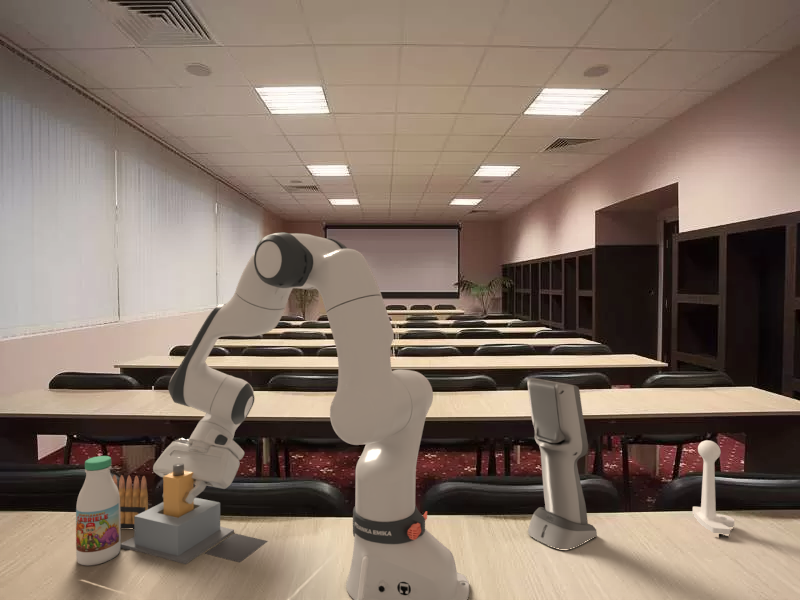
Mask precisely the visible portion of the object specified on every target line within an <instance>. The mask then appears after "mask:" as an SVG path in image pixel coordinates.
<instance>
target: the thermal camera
mask: <svg viewBox="0 0 800 600" xmlns="http://www.w3.org/2000/svg"><path fill="white" fill-rule="evenodd" d="M527 391H528V398H529V410H530V416H531V421H532V425H533V428H534V429H533V430H534V440H535V442H536V444H537V445H538V446H539V450H540V462H541V474H542V475H541V477H542V486H543V498H544V504H545V505H544V507H541V506H540V507H538V508H537V509H535V511H534V512H533V514H532V516H531V519H530V522H529V525H528V528H527V533H528V536H529V535H530V536H531V537H530V536H529V537H530V538H532V537H533V538H534V539H533V538H532V539H533V540H535V539H536V540H535V541H537V540H538V541H540V542H542V543H544V544H546V545H549V546H552V547H555V548H559V549H570V548H573V547H576V546H578V545H580V544H582V543H584V542H585V541H587V540H589V539H591V538H593V537H595V536H596V537H597V536H598V533H597V532H598V531H597V528H595V526H594V525H593V524H590V523H589V522H588V521H589V520H588V513H587V507H586V501H585V496H584V491H583V487H582V483H581V479H580V475H579V469H578V461H579V459H581V458H583V457H585V456H586V455H587V453H588V450H589V443H588V436H587V431H586V430H587V429H586V425H585V419H584V415H583V414H584V413H583V408H582V407H583V406H582V398H581V393H580V388H579V386H578V385H575V384H569V383H565V382H564V383H563V382H558V381H552V380H545V379H541V378H533V377H532V378H528V379H527ZM538 541H537V542H538ZM540 542H539V543H540ZM542 543H541V544H542ZM544 544H543V545H544ZM584 544H585V543H584ZM546 545H545V546H546ZM582 545H583V544H582ZM580 546H581V545H580ZM578 547H579V546H578ZM576 548H577V547H576Z"/></svg>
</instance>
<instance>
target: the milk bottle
mask: <svg viewBox="0 0 800 600" xmlns="http://www.w3.org/2000/svg"><path fill="white" fill-rule="evenodd" d="M111 468H112V457H111V456H108V455H99V456H93V457H90V458H88V459H86V460H85V461H84V472H85V473H86V474H85V475H86V476H85V480H84V482H83V484H82V487H81V489H80V491H79V494H78V496H77V499H76V500H77V501H76V506H75V507H76V508H75V553H76V554H75V555H76V557H75V558H76V561H77V564H79V565H82V566H96V565H100V564H103V563H107V562H109V561H111V560H113V559H114V558H116V557H117V556H118V555H119V553H120V552H121V549H122V548H121V541H122V539H121V537H122V536H121V535H122V534H121V530H122V529H121V525H120V496H119V487H118V485H117V486H116V484H115V483H114V481H113V479H112V478H113V475H112V474H111ZM117 487H118V488H117Z"/></svg>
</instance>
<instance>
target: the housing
mask: <svg viewBox="0 0 800 600" xmlns="http://www.w3.org/2000/svg"><path fill="white" fill-rule="evenodd" d="M234 532H235V529H234V528H233V529H232V528H229V527H223V526H221V502H219V501H215V500H208V499H203V498H201V497H200V498H199V497H195V498H194V509H193V510H192V511H190V512H188V513H186V514H184V515H182V516H181V517H179V518H177V517H173V516H168V515H164V501H162V502H160V503H158V504H157V505H155V506H152V507H149V509H148V510H146V511H144V512H142V513H140V514H138V515H136V516H134V536H133V537H131V538H129V539H127V540H125V541H123V542H122V543H121V548H120V549H123V548H124V550H127V551H130V550H132V551H135V552H140V553H142V554H147V555H150V556H154V557H156V558H162V559H165V560H168V561H171V562H175V563H176V562H177V563H179V564H183V565H187V564H188V563H190V562H191V561H192V560H194V559H195V558H197V557H199V556H200V555H202V554H203V553H206V552H207V551H209V550H210V549H212V548H213V547H215V546H216V545H218V544H219V543H221V542H222V541H224V540H225V539H227V538H228V537H230V536H231V535H233V534H234Z"/></svg>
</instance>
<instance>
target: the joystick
mask: <svg viewBox="0 0 800 600" xmlns="http://www.w3.org/2000/svg"><path fill="white" fill-rule="evenodd" d="M697 452H698V454H699V456H700V457H701V458H702V459H703V466H702V482H701V497H700V498H701V500H700V501H701V503H700V506H692V515H693V514H694V517H695V518H696V519H697V521H698V522H699V523H700V524H701V525H702V526H704V527H705V528H706V529H708V530H710V531H711V532H713V533H723V534H730V535H731V531H730V528H729V527H733V526H734V527H735V519H734V518H733V517H731V516H729V515H724V514H718V513H716V512H717V511H716V508H717V507H716V506H717V505H716V481H715V480H716V478H715V474H716V472H715V462H716V461H717V459H719V457H720V456H721V454H722V453H721V448H720V446H719V445H718V444H717V443H716V442H715V441H713V440H708V439H706V440H703V441H701V442H700V443H699V444H698V446H697Z"/></svg>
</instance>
